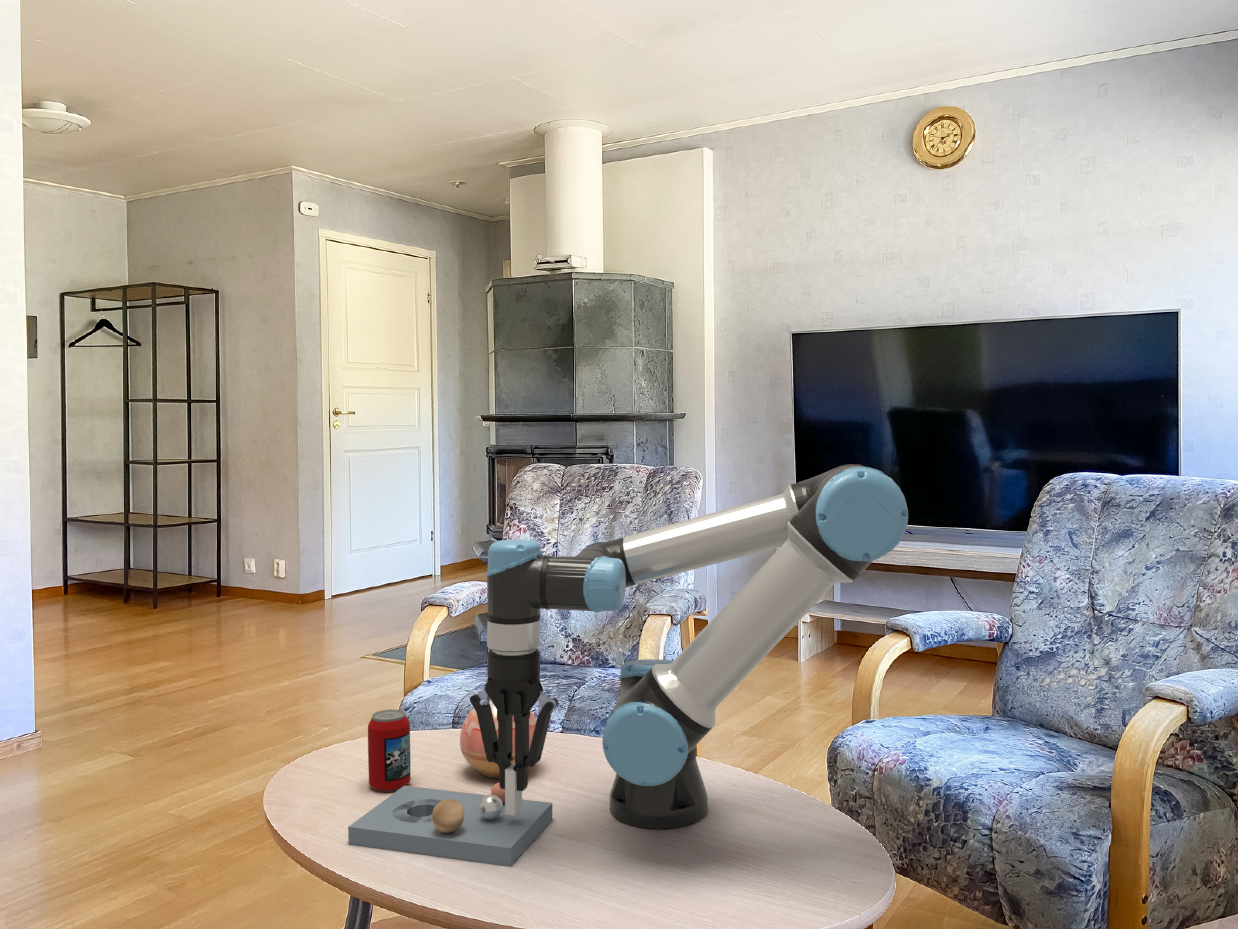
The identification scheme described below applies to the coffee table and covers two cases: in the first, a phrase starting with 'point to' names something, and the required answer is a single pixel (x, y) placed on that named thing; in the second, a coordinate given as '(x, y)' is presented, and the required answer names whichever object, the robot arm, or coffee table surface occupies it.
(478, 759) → the vase
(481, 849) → the plate
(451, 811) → the wooden ball
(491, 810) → the steel ball
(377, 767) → the beverage can
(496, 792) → the rubber ball
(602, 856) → the coffee table surface
